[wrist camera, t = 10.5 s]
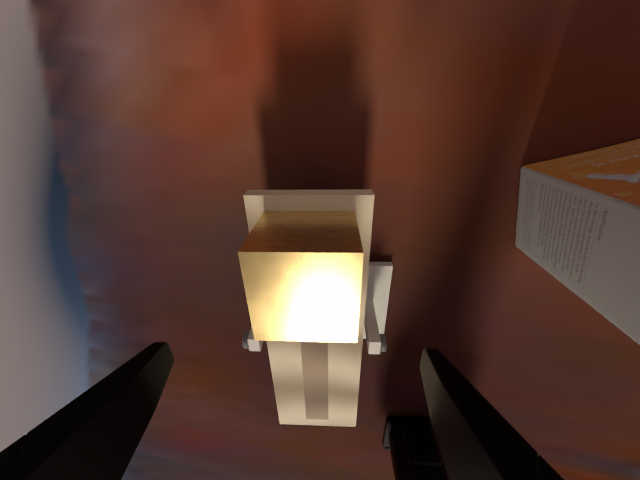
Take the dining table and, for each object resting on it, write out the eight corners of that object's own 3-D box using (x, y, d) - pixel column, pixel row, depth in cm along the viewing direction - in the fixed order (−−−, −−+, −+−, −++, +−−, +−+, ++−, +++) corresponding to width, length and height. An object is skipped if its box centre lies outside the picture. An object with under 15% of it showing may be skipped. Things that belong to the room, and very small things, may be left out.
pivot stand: (382, 333, 25) (393, 385, 20) (256, 331, 25) (239, 381, 21) (391, 261, 21) (407, 306, 16) (243, 260, 21) (219, 302, 17)
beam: (354, 415, 25) (355, 426, 24) (281, 412, 25) (279, 424, 24) (371, 189, 15) (374, 195, 14) (248, 190, 15) (243, 195, 14)
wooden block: (351, 284, 17) (357, 342, 13) (273, 284, 17) (254, 340, 13) (355, 210, 14) (363, 252, 10) (264, 210, 14) (237, 252, 10)
